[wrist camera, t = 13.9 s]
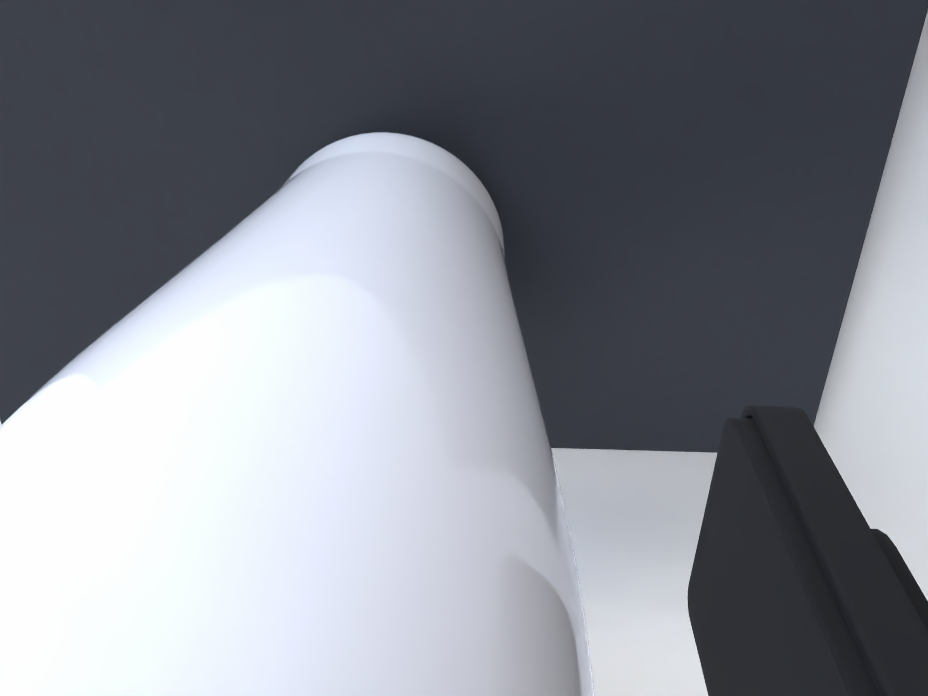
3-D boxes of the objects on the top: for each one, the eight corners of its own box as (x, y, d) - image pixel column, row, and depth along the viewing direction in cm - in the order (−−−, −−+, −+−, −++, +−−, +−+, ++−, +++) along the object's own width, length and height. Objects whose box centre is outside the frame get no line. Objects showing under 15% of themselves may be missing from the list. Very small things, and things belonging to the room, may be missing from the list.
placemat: (-148, -55, 16) (-159, -54, 16) (934, -41, 16) (941, -40, 15) (9, 426, 22) (3, 432, 22) (802, 449, 21) (805, 455, 21)
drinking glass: (277, 368, 20) (-117, 1189, 7) (219, 101, 17) (-682, 716, 4) (538, 357, 20) (622, 1208, 7) (530, 80, 17) (664, 697, 4)
